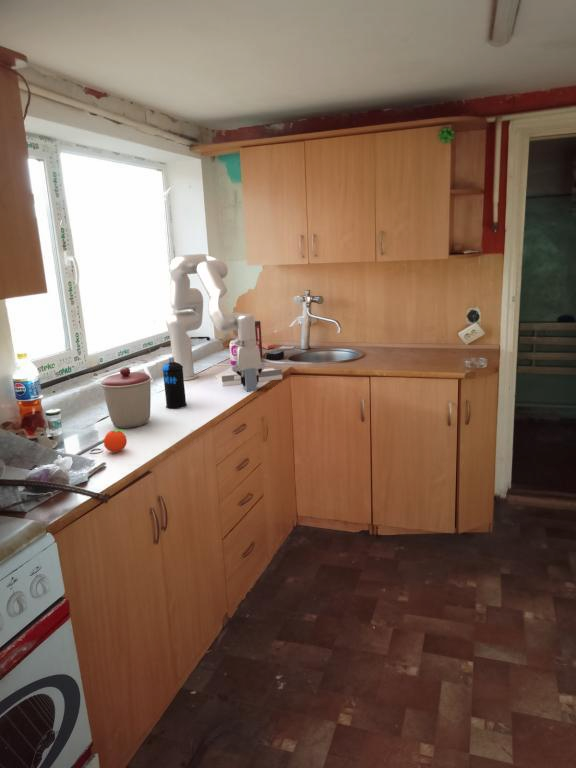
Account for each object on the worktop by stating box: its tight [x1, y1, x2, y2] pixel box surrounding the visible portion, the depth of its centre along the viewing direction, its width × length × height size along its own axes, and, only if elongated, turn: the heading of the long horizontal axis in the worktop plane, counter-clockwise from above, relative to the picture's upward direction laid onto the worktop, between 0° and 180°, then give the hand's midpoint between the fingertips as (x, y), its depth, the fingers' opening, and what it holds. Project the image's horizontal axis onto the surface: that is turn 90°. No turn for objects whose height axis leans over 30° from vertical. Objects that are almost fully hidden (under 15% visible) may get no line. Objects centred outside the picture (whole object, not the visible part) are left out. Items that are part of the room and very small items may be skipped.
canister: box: [99, 367, 153, 429], centre depth 205 cm, size 18×18×21 cm
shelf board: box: [215, 367, 283, 387], centre depth 265 cm, size 28×16×4 cm, turn 107°
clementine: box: [103, 429, 130, 453], centre depth 179 cm, size 8×7×7 cm
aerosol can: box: [161, 356, 188, 410], centre depth 225 cm, size 8×8×20 cm
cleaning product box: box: [236, 320, 263, 359], centre depth 306 cm, size 16×9×20 cm, turn 170°
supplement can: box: [228, 338, 240, 372], centre depth 284 cm, size 8×8×15 cm
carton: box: [242, 368, 258, 393], centre depth 245 cm, size 5×7×10 cm
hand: (250, 384), depth 246 cm, fingers closed on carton, 4 cm apart
